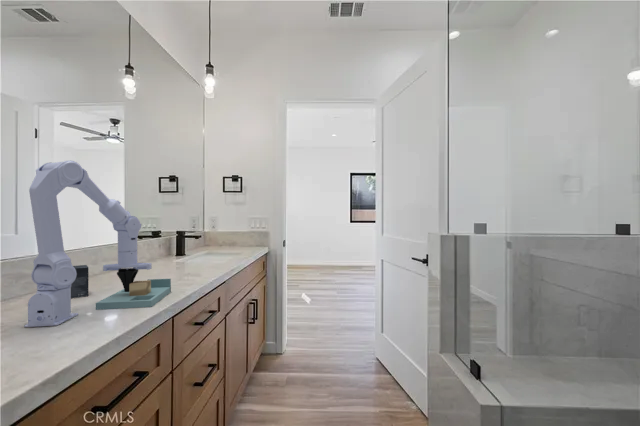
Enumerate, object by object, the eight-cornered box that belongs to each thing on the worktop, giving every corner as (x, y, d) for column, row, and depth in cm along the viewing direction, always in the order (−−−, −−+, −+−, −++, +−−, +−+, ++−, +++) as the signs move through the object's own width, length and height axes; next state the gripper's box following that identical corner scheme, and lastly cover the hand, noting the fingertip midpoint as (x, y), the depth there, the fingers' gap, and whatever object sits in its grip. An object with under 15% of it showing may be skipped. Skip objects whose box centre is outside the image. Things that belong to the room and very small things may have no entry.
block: (145, 295, 108) (145, 283, 108) (129, 295, 108) (129, 283, 108) (150, 291, 113) (150, 280, 113) (135, 292, 113) (135, 280, 113)
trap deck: (151, 306, 102) (151, 290, 102) (95, 309, 99) (95, 293, 99) (170, 291, 121) (170, 278, 121) (124, 293, 119) (124, 280, 119)
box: (88, 296, 116) (88, 266, 116) (68, 298, 113) (68, 268, 113) (87, 292, 122) (86, 264, 122) (68, 294, 119) (67, 265, 119)
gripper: (154, 249, 115) (154, 287, 115) (110, 250, 113) (110, 289, 113) (147, 251, 108) (147, 292, 108) (99, 252, 106) (100, 294, 106)
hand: (128, 291), depth 110 cm, fingers closed
